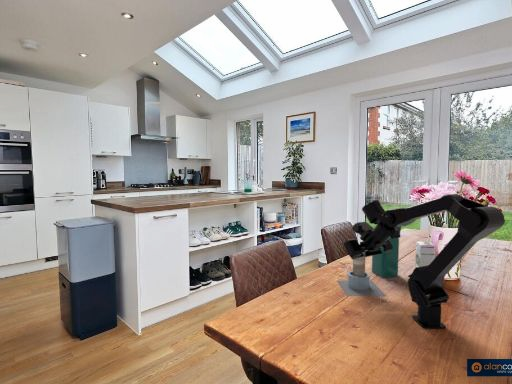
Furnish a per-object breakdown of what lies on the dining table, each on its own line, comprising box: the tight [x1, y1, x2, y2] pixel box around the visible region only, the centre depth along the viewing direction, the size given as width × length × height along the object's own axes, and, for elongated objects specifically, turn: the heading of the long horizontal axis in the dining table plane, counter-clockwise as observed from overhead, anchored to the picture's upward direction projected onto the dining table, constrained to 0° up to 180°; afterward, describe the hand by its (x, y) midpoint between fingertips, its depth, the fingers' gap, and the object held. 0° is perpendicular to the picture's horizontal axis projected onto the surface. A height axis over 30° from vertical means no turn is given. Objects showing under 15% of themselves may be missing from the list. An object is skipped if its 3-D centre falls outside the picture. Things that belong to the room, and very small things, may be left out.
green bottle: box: [371, 226, 402, 278], centre depth 124 cm, size 10×8×22 cm
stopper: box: [352, 251, 366, 277], centre depth 111 cm, size 4×4×10 cm
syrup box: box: [414, 241, 436, 269], centre depth 120 cm, size 6×6×14 cm
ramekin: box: [346, 270, 371, 290], centre depth 111 cm, size 8×8×4 cm
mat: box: [336, 280, 387, 297], centre depth 109 cm, size 14×14×1 cm
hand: (356, 257), depth 112 cm, fingers closed on stopper, 4 cm apart
